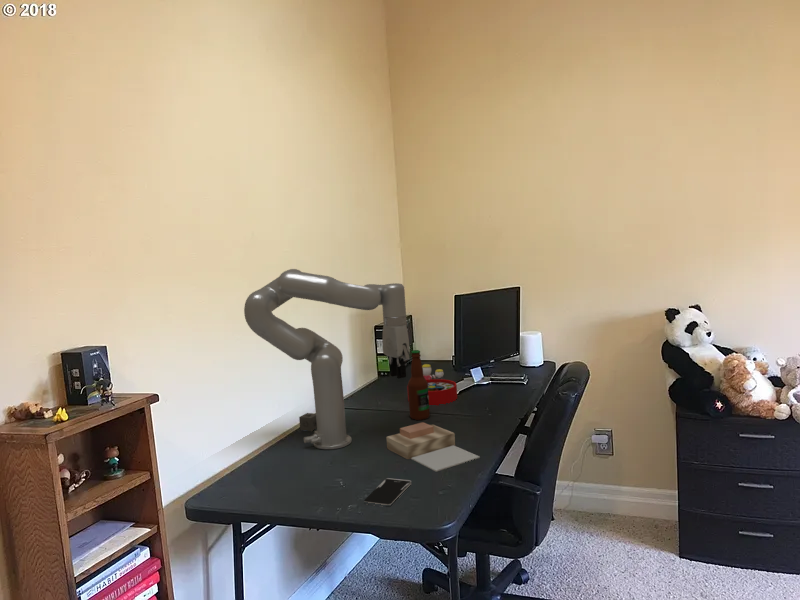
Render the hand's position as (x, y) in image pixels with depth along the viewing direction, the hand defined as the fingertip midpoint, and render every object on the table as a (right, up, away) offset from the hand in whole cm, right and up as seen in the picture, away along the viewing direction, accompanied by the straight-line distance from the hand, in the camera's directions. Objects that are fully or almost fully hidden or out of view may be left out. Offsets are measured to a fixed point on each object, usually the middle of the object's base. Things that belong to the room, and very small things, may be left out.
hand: (398, 376), depth 206 cm
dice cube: (-32, -22, +19) cm, 43 cm away
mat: (+14, -23, -18) cm, 32 cm away
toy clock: (+14, -15, +48) cm, 52 cm away
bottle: (+8, -18, +24) cm, 31 cm away
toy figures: (+15, -12, +74) cm, 77 cm away
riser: (+7, -22, -7) cm, 24 cm away
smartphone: (-3, -27, -40) cm, 48 cm away
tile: (+6, -18, -6) cm, 19 cm away
